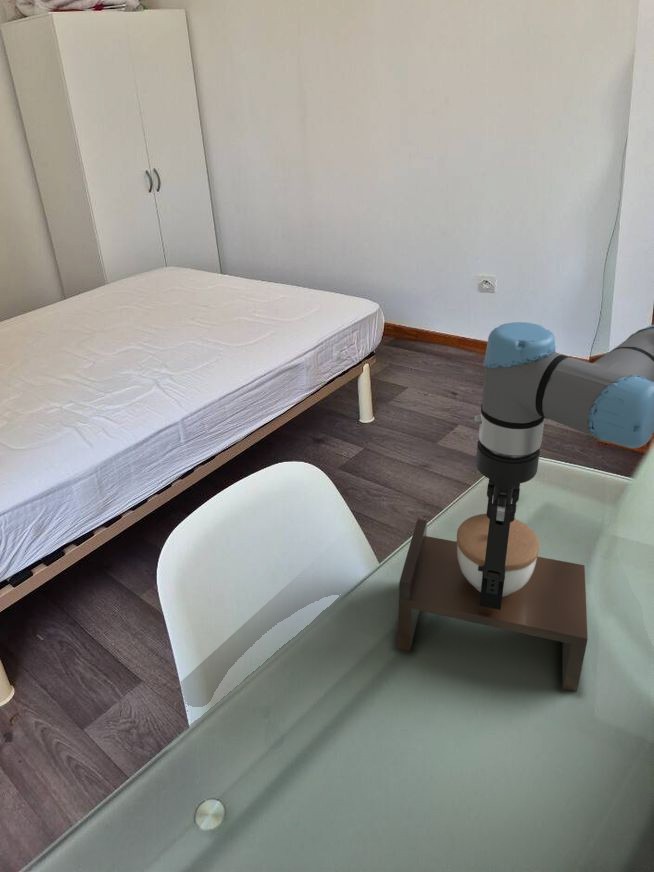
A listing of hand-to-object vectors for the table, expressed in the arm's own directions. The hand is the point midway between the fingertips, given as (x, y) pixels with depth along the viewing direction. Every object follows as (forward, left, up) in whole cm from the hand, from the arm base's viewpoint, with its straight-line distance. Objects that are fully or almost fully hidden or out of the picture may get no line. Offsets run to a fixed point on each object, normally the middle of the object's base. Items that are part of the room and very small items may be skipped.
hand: (493, 576), depth 96 cm
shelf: (0, 0, -11) cm, 11 cm away
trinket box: (0, 0, -1) cm, 1 cm away
